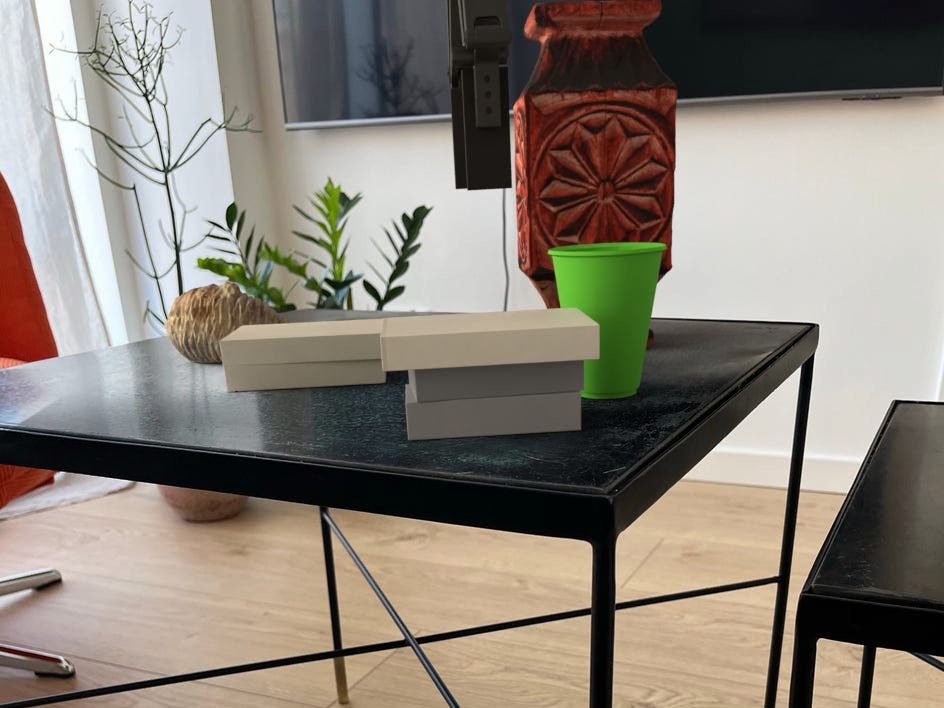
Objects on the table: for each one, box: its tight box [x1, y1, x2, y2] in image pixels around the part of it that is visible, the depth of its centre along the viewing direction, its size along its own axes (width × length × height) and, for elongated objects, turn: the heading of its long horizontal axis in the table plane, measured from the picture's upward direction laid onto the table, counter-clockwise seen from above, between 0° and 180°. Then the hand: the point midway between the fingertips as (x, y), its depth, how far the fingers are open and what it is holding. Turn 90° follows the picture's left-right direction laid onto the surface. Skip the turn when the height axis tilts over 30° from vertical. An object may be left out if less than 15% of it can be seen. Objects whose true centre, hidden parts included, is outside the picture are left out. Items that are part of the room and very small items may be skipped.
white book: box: [380, 307, 600, 372], centre depth 71 cm, size 14×10×2 cm
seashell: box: [163, 280, 291, 364], centre depth 106 cm, size 14×10×10 cm
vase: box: [512, 0, 679, 349], centre depth 99 cm, size 14×14×30 cm
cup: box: [548, 242, 667, 400], centre depth 79 cm, size 9×9×11 cm
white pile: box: [219, 318, 388, 393], centre depth 93 cm, size 14×11×4 cm
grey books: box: [404, 360, 584, 442], centre depth 72 cm, size 12×8×5 cm, turn 94°
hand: (481, 189), depth 68 cm, fingers open, 13 cm apart
